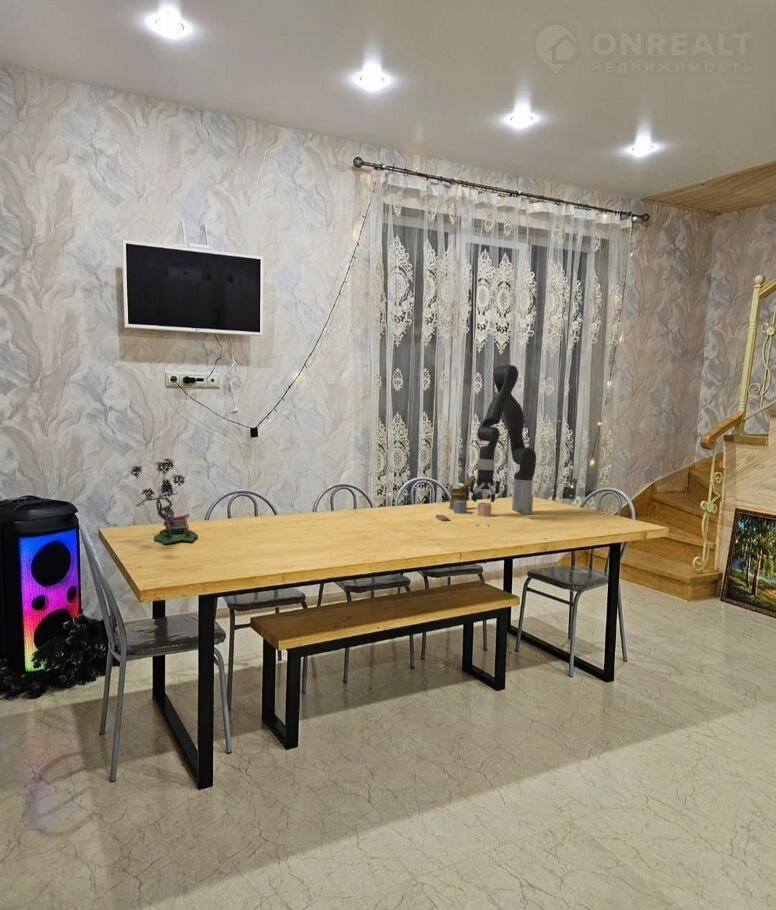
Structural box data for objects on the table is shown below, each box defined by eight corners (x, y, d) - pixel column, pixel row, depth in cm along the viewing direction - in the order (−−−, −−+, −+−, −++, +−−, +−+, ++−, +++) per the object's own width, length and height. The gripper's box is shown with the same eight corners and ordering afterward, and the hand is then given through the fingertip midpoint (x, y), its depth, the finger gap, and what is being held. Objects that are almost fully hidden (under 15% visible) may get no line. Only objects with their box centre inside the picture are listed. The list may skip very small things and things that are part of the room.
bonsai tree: (127, 534, 278) (127, 454, 275) (190, 530, 290) (190, 453, 287) (142, 555, 248) (142, 466, 244) (212, 549, 260) (213, 464, 256)
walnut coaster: (456, 517, 339) (456, 514, 338) (462, 521, 329) (462, 518, 329) (435, 517, 337) (436, 514, 337) (441, 521, 327) (441, 518, 327)
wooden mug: (477, 512, 354) (479, 476, 352) (454, 513, 348) (456, 477, 346) (467, 508, 362) (469, 474, 360) (444, 510, 355) (446, 474, 353)
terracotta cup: (488, 517, 342) (488, 502, 341) (492, 519, 336) (492, 504, 335) (476, 517, 341) (476, 502, 340) (480, 519, 335) (480, 504, 334)
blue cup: (463, 514, 347) (464, 500, 346) (467, 516, 341) (468, 502, 340) (452, 514, 345) (452, 500, 345) (455, 516, 340) (456, 502, 339)
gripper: (497, 467, 341) (495, 501, 342) (469, 466, 338) (466, 500, 340) (502, 469, 333) (500, 503, 335) (473, 468, 331) (471, 502, 333)
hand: (483, 501), depth 338 cm, fingers open, 8 cm apart
